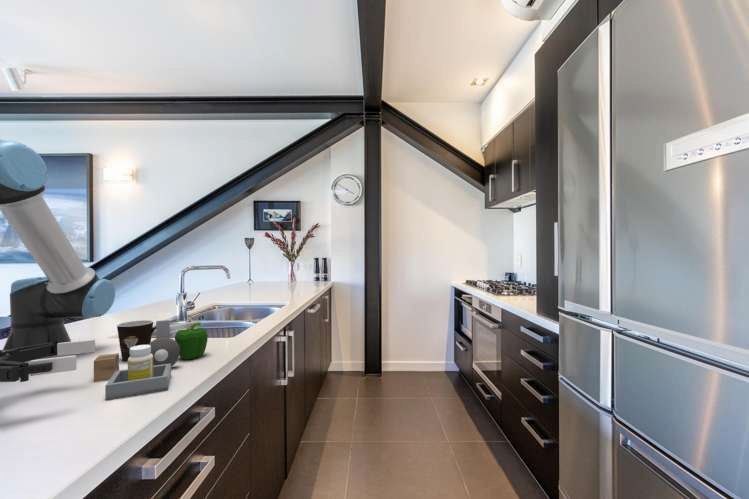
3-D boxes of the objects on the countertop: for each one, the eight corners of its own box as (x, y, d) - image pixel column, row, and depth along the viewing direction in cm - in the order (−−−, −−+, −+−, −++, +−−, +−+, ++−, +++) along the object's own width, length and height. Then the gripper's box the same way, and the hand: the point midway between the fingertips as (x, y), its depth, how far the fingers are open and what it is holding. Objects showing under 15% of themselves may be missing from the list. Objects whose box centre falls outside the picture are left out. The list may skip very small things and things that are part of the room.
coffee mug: (109, 362, 96) (108, 326, 96) (134, 353, 104) (134, 320, 104) (146, 363, 94) (146, 327, 94) (169, 354, 103) (169, 320, 103)
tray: (116, 383, 80) (116, 370, 80) (171, 375, 85) (171, 363, 85) (105, 400, 71) (105, 385, 71) (167, 390, 76) (167, 376, 76)
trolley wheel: (146, 366, 92) (145, 321, 92) (180, 362, 95) (180, 318, 95) (142, 373, 86) (142, 325, 86) (179, 368, 90) (178, 322, 90)
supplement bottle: (138, 380, 80) (137, 344, 80) (158, 380, 80) (157, 344, 80) (122, 388, 76) (122, 350, 76) (143, 388, 75) (143, 350, 75)
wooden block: (99, 375, 86) (99, 355, 86) (119, 372, 88) (119, 353, 88) (93, 382, 81) (93, 361, 81) (114, 379, 83) (114, 358, 83)
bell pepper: (168, 362, 95) (167, 326, 95) (184, 353, 104) (183, 320, 104) (198, 361, 96) (198, 325, 96) (212, 352, 104) (212, 319, 104)
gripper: (-21, 369, 75) (101, 355, 85) (-114, 419, 53) (65, 392, 63) (-21, 335, 75) (100, 324, 85) (-114, 370, 53) (65, 350, 63)
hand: (86, 353), depth 74 cm, fingers open, 13 cm apart
